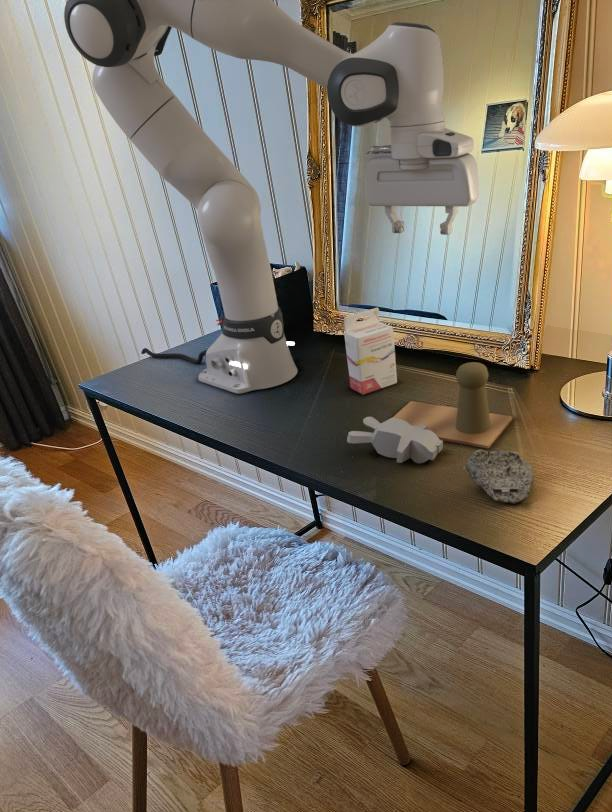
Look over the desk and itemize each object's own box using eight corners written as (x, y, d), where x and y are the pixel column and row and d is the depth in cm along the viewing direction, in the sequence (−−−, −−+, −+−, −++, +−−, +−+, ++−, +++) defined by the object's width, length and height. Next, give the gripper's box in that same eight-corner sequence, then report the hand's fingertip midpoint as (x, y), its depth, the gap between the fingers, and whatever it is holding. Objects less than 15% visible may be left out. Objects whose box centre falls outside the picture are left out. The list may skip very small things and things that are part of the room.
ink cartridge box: (363, 396, 128) (354, 322, 120) (350, 388, 132) (340, 317, 123) (398, 382, 131) (392, 310, 123) (385, 376, 135) (378, 305, 127)
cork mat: (382, 429, 115) (382, 426, 115) (411, 403, 123) (410, 400, 122) (488, 448, 106) (488, 445, 105) (512, 419, 113) (512, 416, 113)
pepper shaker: (490, 433, 108) (490, 372, 102) (454, 434, 110) (451, 373, 104) (491, 417, 113) (491, 357, 107) (456, 417, 115) (454, 358, 109)
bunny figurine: (425, 452, 99) (341, 427, 105) (424, 479, 102) (342, 454, 108) (450, 424, 105) (370, 402, 111) (448, 450, 109) (370, 428, 114)
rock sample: (488, 495, 88) (489, 434, 90) (459, 507, 94) (460, 450, 97) (551, 507, 91) (550, 448, 94) (519, 518, 98) (519, 463, 100)
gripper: (354, 149, 109) (362, 235, 116) (466, 144, 99) (467, 239, 107) (373, 143, 113) (379, 227, 121) (483, 138, 103) (482, 230, 111)
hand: (421, 233), depth 114 cm, fingers open, 8 cm apart
